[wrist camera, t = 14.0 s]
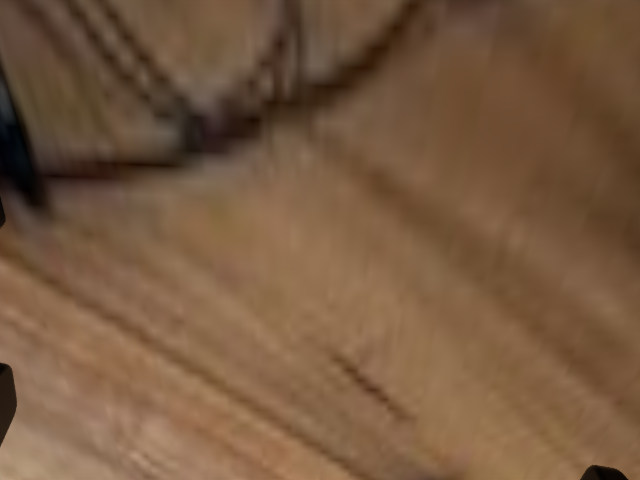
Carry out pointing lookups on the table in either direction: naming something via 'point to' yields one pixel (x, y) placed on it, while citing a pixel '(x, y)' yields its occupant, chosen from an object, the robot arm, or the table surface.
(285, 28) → the table surface
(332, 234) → the table surface
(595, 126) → the table surface
